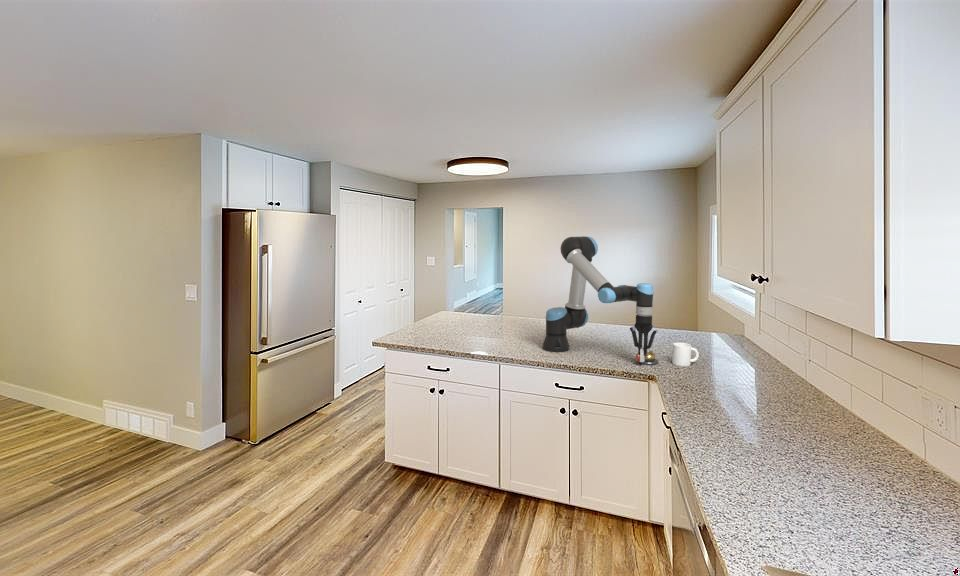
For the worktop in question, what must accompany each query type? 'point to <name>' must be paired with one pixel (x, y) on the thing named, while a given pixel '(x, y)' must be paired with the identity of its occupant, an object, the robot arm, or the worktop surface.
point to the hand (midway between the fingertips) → (642, 361)
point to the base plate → (650, 362)
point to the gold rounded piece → (646, 357)
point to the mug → (683, 354)
